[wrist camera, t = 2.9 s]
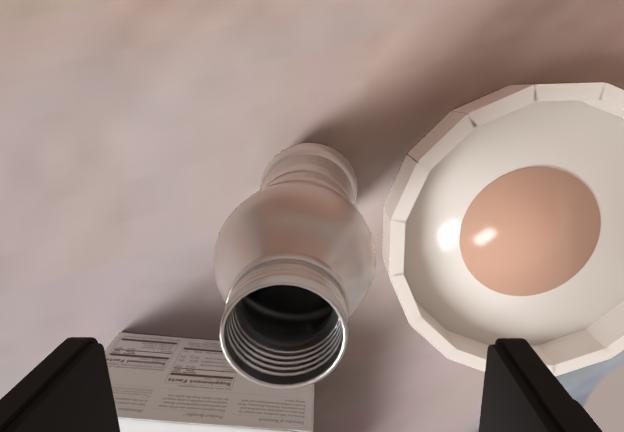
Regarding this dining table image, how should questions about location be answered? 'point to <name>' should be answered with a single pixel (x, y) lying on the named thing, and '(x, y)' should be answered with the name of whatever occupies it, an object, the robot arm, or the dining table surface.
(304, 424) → the supplement box
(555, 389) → the robot arm
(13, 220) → the dining table surface
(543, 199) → the round tray
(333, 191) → the plastic bottle
